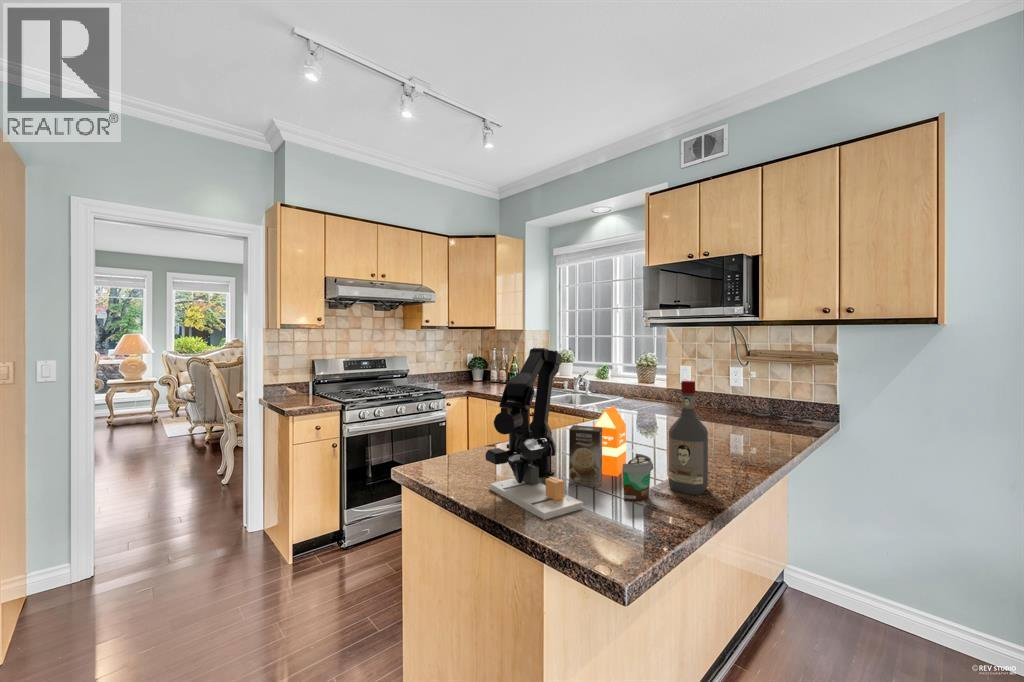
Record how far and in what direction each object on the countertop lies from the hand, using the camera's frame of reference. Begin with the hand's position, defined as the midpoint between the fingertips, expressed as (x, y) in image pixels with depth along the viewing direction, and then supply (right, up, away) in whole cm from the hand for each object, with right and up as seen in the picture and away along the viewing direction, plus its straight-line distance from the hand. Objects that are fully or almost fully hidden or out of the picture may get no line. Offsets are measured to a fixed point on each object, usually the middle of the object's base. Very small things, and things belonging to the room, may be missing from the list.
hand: (519, 482), depth 124 cm
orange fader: (+9, -1, -10) cm, 13 cm away
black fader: (+3, 0, +2) cm, 4 cm away
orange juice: (+29, -2, +18) cm, 34 cm away
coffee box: (+19, -2, +7) cm, 21 cm away
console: (+4, -2, -5) cm, 7 cm away
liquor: (+47, -2, +1) cm, 47 cm away
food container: (+32, -2, -5) cm, 33 cm away
